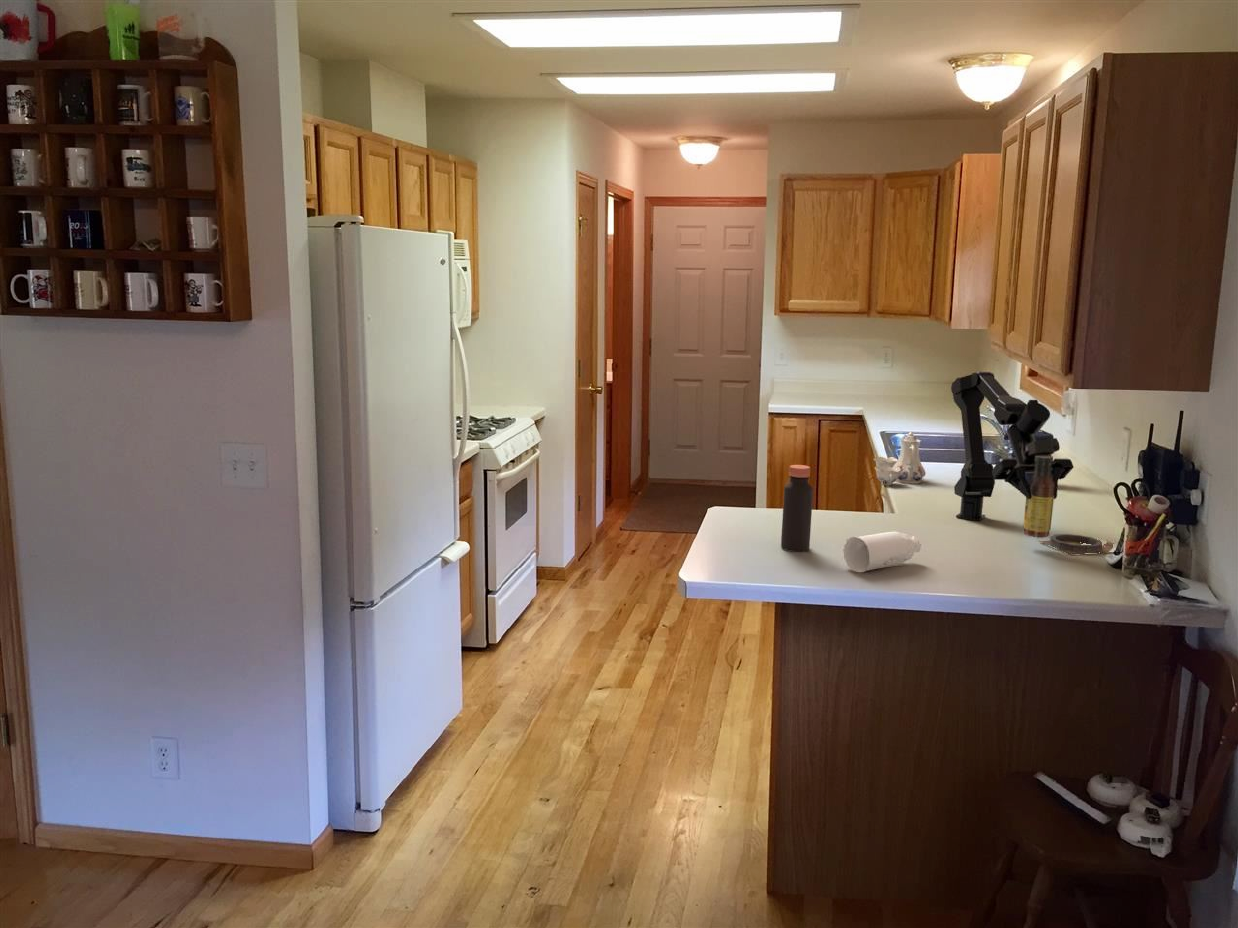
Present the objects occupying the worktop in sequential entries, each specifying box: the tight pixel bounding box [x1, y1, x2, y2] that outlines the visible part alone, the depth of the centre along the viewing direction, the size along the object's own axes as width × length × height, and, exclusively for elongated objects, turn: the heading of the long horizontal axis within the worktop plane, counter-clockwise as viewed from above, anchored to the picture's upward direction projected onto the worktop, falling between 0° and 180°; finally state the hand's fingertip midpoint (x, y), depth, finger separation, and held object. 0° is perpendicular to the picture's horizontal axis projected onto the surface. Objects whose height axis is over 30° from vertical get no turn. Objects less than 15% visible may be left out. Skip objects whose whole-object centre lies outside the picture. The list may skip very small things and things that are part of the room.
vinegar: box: [780, 464, 814, 552], centre depth 250 cm, size 7×7×20 cm
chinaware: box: [873, 431, 926, 487], centre depth 337 cm, size 28×17×17 cm, turn 172°
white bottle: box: [842, 531, 922, 573], centre depth 238 cm, size 8×19×8 cm, turn 121°
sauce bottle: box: [1023, 455, 1055, 539], centre depth 254 cm, size 7×6×20 cm
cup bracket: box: [1039, 533, 1114, 555], centre depth 260 cm, size 18×12×2 cm, turn 105°
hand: (1042, 498), depth 253 cm, fingers closed on sauce bottle, 6 cm apart
